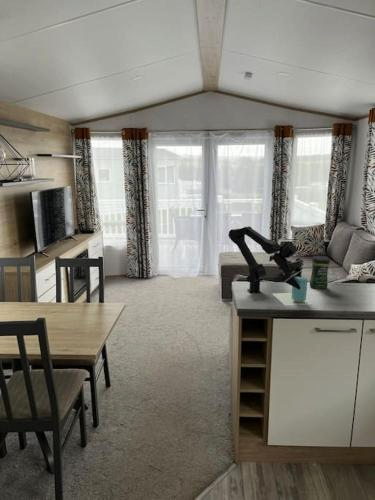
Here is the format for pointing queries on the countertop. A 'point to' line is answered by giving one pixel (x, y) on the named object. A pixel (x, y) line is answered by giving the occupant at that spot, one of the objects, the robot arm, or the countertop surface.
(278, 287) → the countertop surface
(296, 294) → the teal rounded cylinder
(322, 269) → the coffee jar
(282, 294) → the sage mat
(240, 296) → the countertop surface
